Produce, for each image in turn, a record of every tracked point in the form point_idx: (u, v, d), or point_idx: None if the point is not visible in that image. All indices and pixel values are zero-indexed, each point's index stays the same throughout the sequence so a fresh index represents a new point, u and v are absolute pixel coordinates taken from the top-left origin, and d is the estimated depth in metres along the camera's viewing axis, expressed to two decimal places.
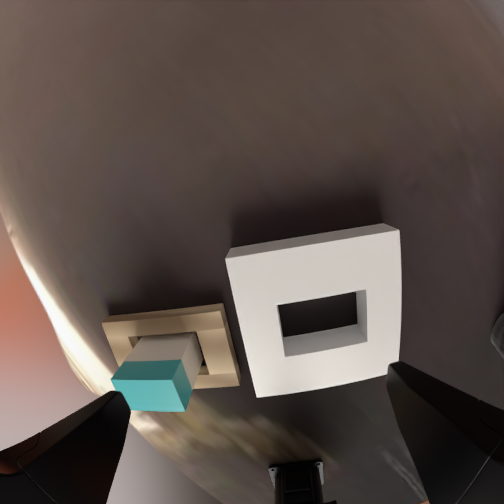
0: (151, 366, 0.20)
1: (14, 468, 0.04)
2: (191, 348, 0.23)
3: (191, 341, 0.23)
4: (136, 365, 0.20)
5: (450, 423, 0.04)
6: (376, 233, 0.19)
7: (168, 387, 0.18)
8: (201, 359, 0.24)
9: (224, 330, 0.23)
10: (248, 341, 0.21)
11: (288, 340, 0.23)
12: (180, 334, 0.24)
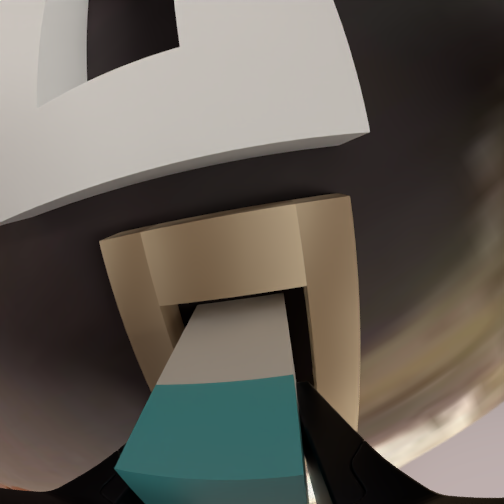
0: None
1: (103, 503, 0.03)
2: (204, 329, 0.08)
3: (195, 322, 0.09)
4: None
5: (318, 460, 0.05)
6: None
7: (160, 488, 0.03)
8: (275, 301, 0.09)
9: (148, 232, 0.08)
10: (122, 161, 0.06)
11: None
12: None
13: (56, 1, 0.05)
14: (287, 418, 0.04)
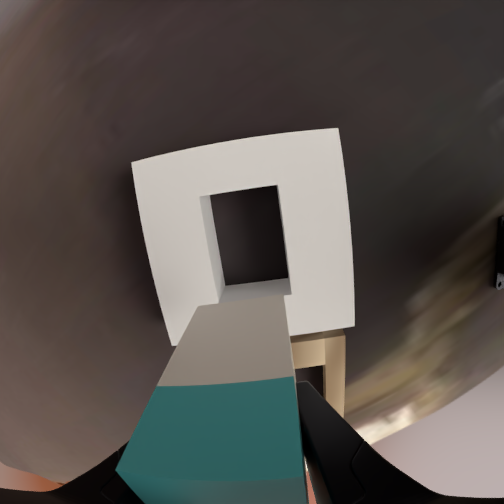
0: None
1: (103, 503, 0.03)
2: (204, 330, 0.08)
3: (196, 324, 0.09)
4: None
5: (318, 461, 0.05)
6: None
7: (161, 489, 0.03)
8: (275, 302, 0.09)
9: None
10: None
11: (288, 275, 0.20)
12: None
13: (206, 224, 0.17)
14: (287, 420, 0.04)
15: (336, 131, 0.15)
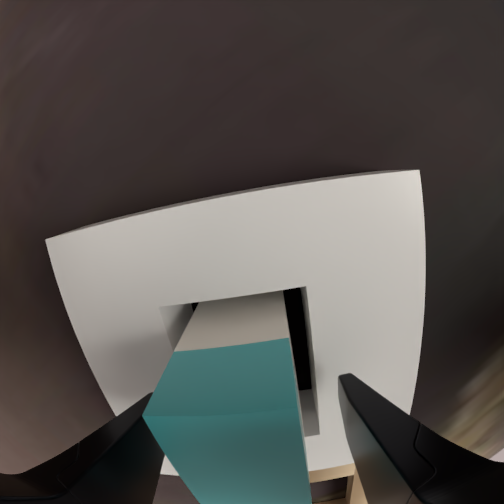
0: None
1: (57, 487, 0.03)
2: (212, 308, 0.10)
3: (204, 304, 0.10)
4: None
5: (382, 447, 0.04)
6: (60, 285, 0.09)
7: (180, 432, 0.05)
8: None
9: None
10: None
11: (312, 391, 0.12)
12: None
13: None
14: (284, 368, 0.06)
15: (416, 176, 0.07)
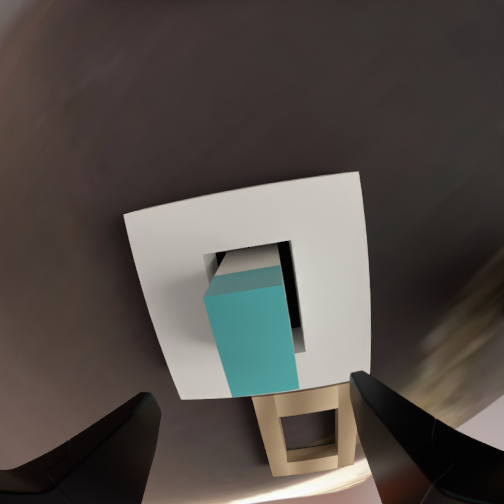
0: None
1: (46, 482, 0.04)
2: (234, 258, 0.16)
3: (228, 257, 0.16)
4: None
5: (399, 442, 0.04)
6: (131, 245, 0.15)
7: (223, 306, 0.11)
8: (272, 246, 0.17)
9: (277, 395, 0.18)
10: None
11: (301, 326, 0.18)
12: None
13: None
14: (277, 274, 0.12)
15: (356, 175, 0.13)
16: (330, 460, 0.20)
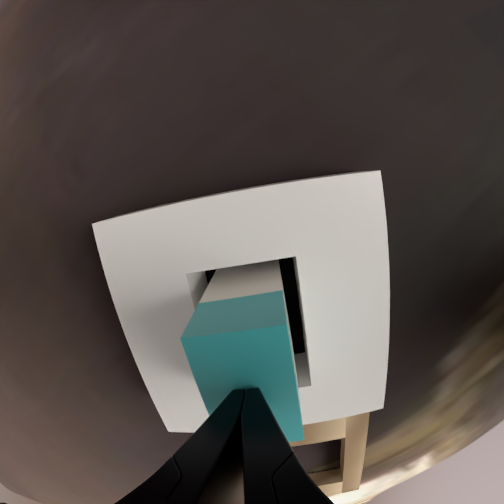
0: None
1: None
2: (225, 277, 0.13)
3: (218, 275, 0.13)
4: None
5: (245, 468, 0.05)
6: (103, 260, 0.12)
7: (206, 349, 0.08)
8: (272, 260, 0.14)
9: None
10: None
11: (305, 352, 0.15)
12: None
13: None
14: (278, 306, 0.09)
15: (378, 175, 0.10)
16: (334, 486, 0.17)
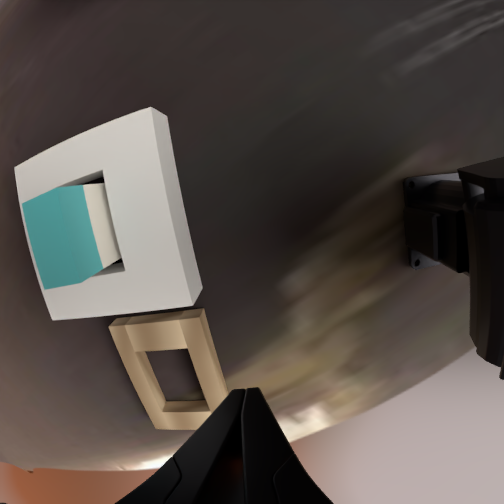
0: None
1: None
2: None
3: None
4: None
5: (245, 468, 0.05)
6: None
7: (30, 208, 0.12)
8: None
9: (127, 325, 0.20)
10: (114, 309, 0.18)
11: None
12: None
13: None
14: None
15: (149, 110, 0.15)
16: (205, 416, 0.22)
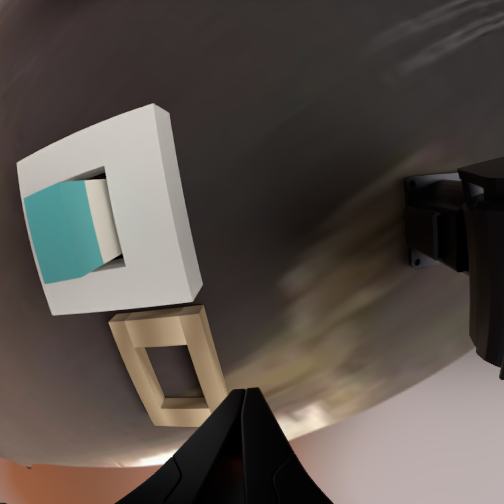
0: None
1: None
2: None
3: None
4: None
5: (245, 468, 0.05)
6: None
7: (31, 203, 0.12)
8: None
9: (127, 321, 0.20)
10: (114, 305, 0.18)
11: None
12: None
13: None
14: None
15: (152, 106, 0.15)
16: (203, 413, 0.22)
